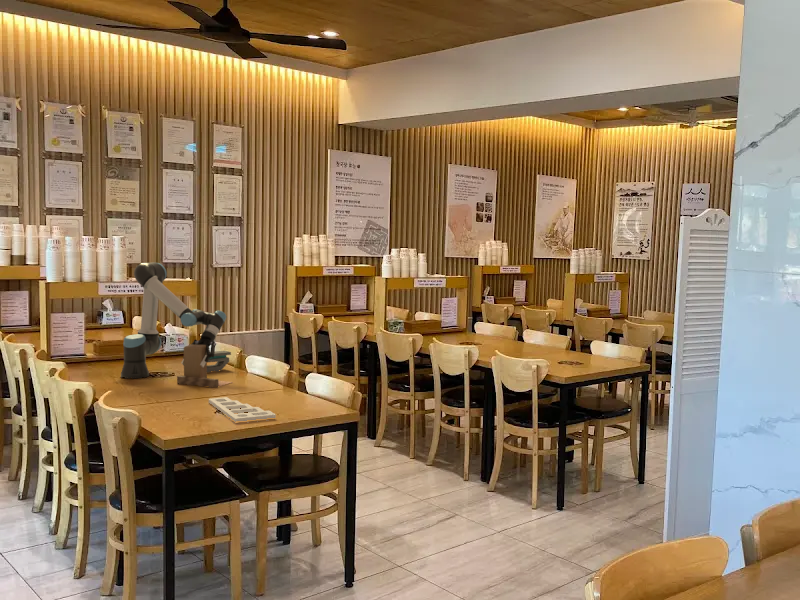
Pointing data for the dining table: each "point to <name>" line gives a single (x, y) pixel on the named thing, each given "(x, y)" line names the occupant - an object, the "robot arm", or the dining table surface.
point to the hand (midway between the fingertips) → (192, 365)
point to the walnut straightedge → (197, 381)
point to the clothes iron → (218, 361)
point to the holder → (240, 410)
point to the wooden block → (195, 361)
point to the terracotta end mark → (223, 383)
